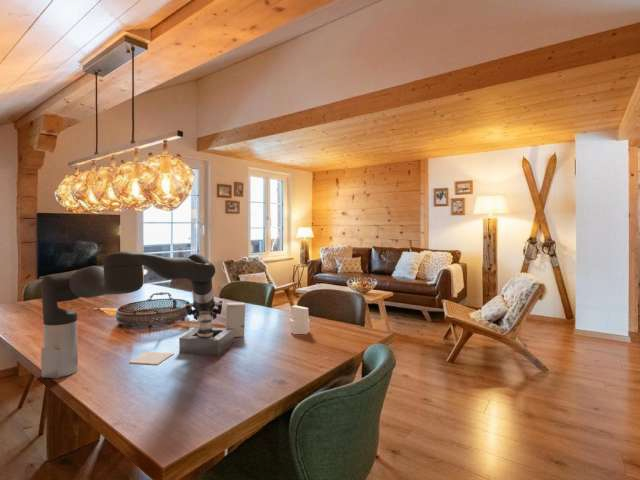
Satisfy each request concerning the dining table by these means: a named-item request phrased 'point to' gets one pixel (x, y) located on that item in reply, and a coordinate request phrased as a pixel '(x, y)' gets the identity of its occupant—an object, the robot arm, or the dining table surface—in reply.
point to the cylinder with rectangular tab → (299, 320)
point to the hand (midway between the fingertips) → (205, 317)
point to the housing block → (206, 342)
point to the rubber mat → (151, 358)
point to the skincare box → (236, 317)
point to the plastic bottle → (205, 324)
